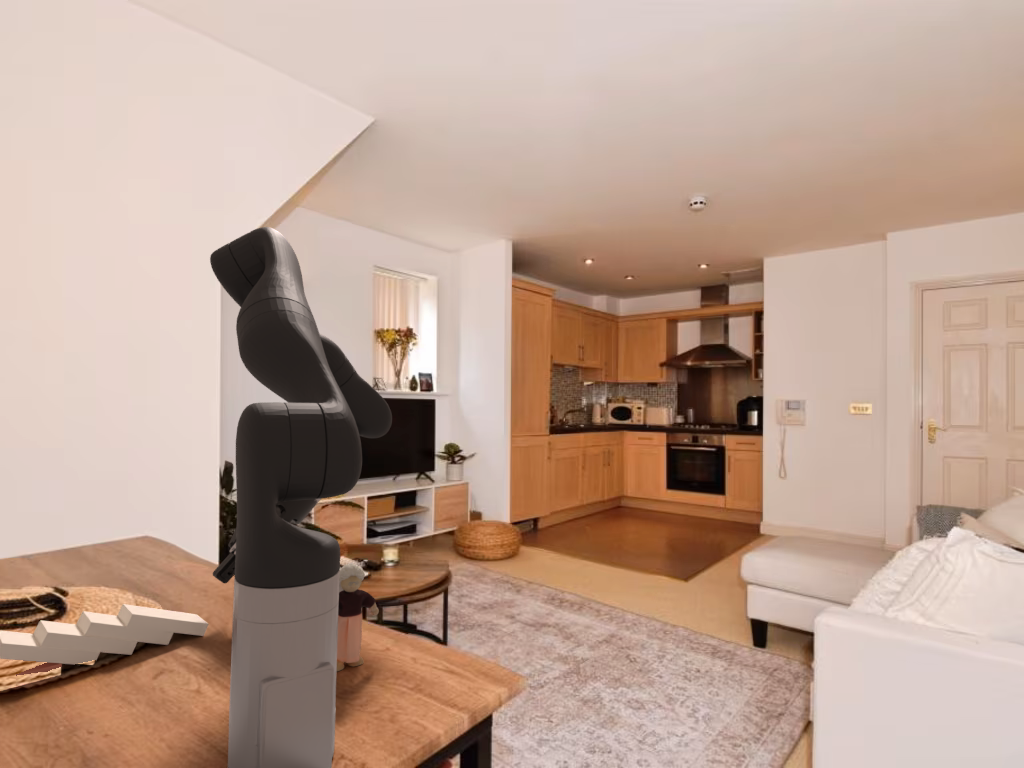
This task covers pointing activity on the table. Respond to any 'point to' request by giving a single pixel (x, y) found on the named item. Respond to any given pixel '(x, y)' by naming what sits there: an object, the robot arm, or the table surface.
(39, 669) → the domino
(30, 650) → the domino
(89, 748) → the table surface
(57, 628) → the domino
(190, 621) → the domino
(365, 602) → the grandmother figurine
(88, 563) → the table surface
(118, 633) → the domino
